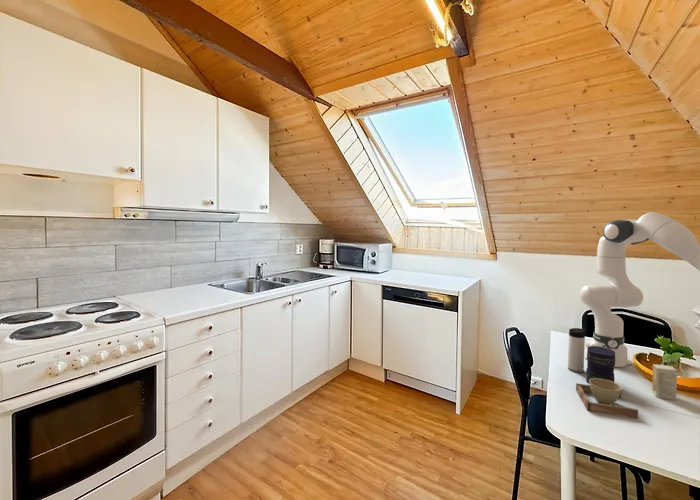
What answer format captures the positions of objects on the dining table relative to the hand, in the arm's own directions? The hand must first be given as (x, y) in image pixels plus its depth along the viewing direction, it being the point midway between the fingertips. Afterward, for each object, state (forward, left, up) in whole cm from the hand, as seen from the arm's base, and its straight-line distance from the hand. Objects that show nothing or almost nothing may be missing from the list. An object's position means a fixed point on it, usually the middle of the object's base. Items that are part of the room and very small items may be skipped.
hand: (698, 328), depth 118 cm
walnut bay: (+4, -27, -31) cm, 42 cm away
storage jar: (-14, -24, -32) cm, 42 cm away
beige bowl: (+2, -27, -32) cm, 42 cm away
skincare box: (-10, -4, -32) cm, 33 cm away
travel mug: (-26, -30, -32) cm, 51 cm away
